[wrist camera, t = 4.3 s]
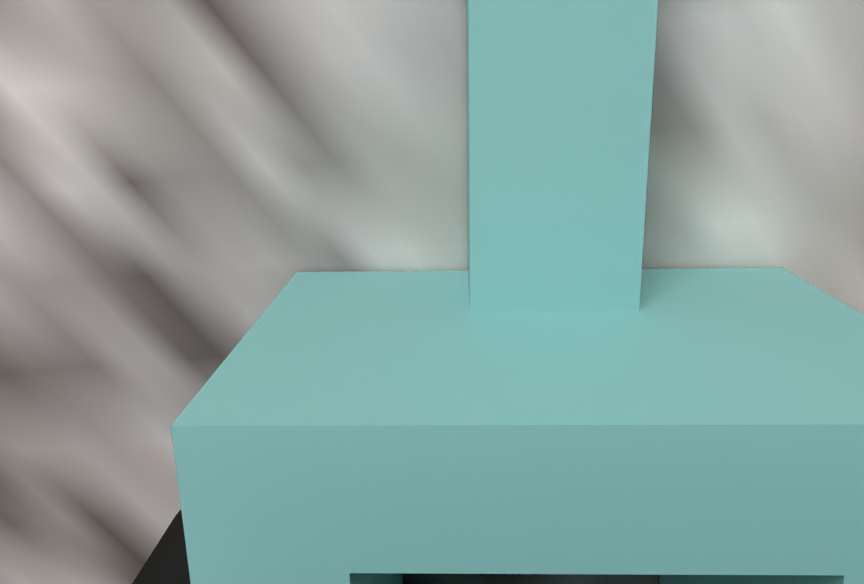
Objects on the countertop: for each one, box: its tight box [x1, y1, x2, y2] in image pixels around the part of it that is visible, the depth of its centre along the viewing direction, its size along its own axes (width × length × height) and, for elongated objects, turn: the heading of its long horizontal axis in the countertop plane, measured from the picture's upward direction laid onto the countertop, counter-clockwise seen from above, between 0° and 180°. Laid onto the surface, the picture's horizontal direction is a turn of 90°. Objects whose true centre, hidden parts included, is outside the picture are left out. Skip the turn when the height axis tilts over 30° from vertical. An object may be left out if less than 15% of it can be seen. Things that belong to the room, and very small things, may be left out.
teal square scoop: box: [171, 0, 864, 584], centre depth 9 cm, size 13×7×5 cm, turn 1°
